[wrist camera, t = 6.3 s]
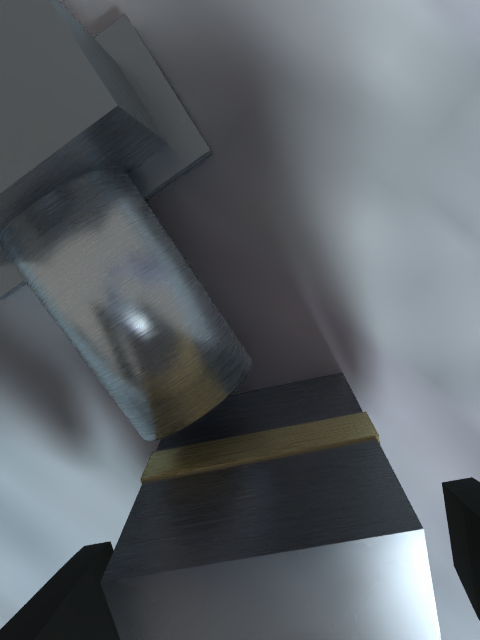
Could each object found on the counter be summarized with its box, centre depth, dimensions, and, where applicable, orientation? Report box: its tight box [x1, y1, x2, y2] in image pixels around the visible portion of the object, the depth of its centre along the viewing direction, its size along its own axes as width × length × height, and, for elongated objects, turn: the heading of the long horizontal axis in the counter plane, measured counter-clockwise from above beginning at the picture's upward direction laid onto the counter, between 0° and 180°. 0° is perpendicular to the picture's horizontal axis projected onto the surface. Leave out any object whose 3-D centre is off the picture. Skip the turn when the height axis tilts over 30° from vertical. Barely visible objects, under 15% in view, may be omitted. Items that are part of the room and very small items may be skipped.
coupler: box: [100, 373, 441, 640], centre depth 10 cm, size 5×5×6 cm
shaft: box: [0, 0, 252, 441], centre depth 9 cm, size 8×6×4 cm
